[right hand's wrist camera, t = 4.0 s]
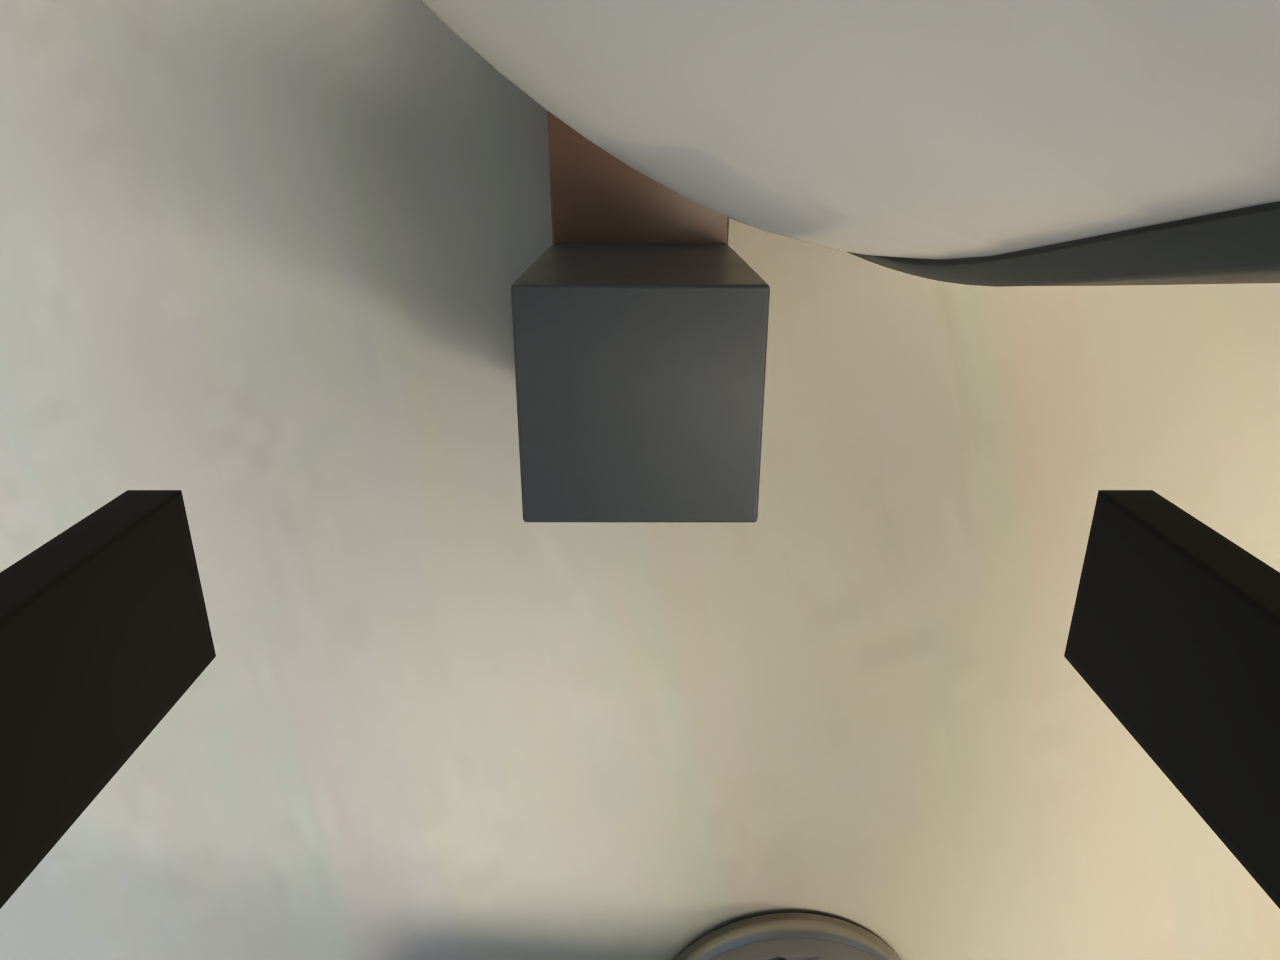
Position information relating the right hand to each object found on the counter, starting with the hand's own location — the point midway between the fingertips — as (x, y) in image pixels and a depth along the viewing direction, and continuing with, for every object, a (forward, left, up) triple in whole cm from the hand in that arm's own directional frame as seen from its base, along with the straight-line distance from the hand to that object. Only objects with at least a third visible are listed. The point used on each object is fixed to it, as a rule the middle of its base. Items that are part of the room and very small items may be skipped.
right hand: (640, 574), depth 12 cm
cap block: (0, 0, -19) cm, 19 cm away
